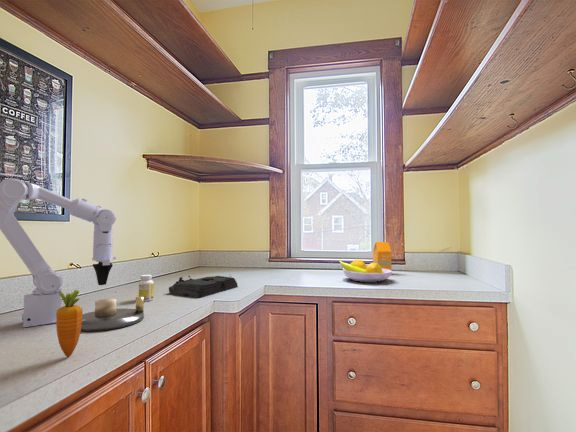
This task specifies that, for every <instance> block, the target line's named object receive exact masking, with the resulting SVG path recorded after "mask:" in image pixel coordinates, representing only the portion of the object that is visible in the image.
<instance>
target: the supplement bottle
mask: <svg viewBox="0 0 576 432" xmlns="http://www.w3.org/2000/svg"><path fill="white" fill-rule="evenodd" d="M152 276H153V275H152V274H141V275H140V281H139V282H138V297H140V296H143V297H144V302H149V301H152V300H154V295H155V294H154V286H155V285H154V280H152V278H153V277H152Z"/></svg>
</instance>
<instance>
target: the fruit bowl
mask: <svg viewBox="0 0 576 432" xmlns="http://www.w3.org/2000/svg"><path fill="white" fill-rule="evenodd" d="M338 262H339V263H340V265H341V267H343V268H342V271H343V274H344V275H345V277H346V278H349V279H350V280H353V281H354V282H356V281H360V282H359V283H368V282H374V283H378V282H382V281H385V280H387V279H388V278H390V277H391V276H392V273H393V270H392V269H391V270H389V269H383V268H382V267H381V266H380V265H379V264H377V263H373V261H372V262H370V263H369V264H367V265H366V263H365V262H364V261H363V259H354V260H353V261H351V262H350V264H349V263H346V262H343V261H342V260H340V259H339V260H338ZM377 281H378V282H377Z"/></svg>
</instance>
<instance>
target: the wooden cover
mask: <svg viewBox="0 0 576 432" xmlns="http://www.w3.org/2000/svg"><path fill="white" fill-rule="evenodd" d="M116 309H117V299H116V298H104V299H98V300H96V301H95V302H94V311H95V316H109V315H113V314H115V313H116Z"/></svg>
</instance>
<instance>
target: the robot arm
mask: <svg viewBox="0 0 576 432" xmlns="http://www.w3.org/2000/svg"><path fill="white" fill-rule="evenodd" d="M24 198H25V201H27V200H29V201H30V200H40V201H43V202H46V203H49V204H51V205H55V206H57V207H59V208H63V209H66V210H67V212H68V213H69V214H68V215H70V216H73V217H75V218H78V219H81V220H83V221H86V222H89V223H91V222H92V224H93V227H94V228H93V245H92V247H93V248H92V258H91V259H92V261H94V262H97V263H93V264H92V267H93V269H94V271H95V276H96V280H97V281H96V282H97V285H98V286H106V285H107V282H108V277H109V274H110V272H111V269H112V268H113V266H114V265H113V263H112V262H111V261H113V260H117V257H116V256H113V240H114V236H113V235H114V229H113V227H114V224H115V222H116V219H117V218H116V216H115V214H114V213H113V211H112V210H110V209H105V208H104V209H103V206H102V205H96V204H93V203H90V202H88V199H85V198H82V199H80V198H75V199H70V198H69V197H66V196H63V195H60V194H58V193H56V192H54V191H52V190H50V189H47V188H45V187H43V186H40V185H37V184H34V183H31V182H28V181H23V180H21V179H19V178H15V177H14V178H13V177H12V178H11V177H9V178H6V179H4V180H2V181H1V182H0V231H1V233H2V234H3V236H4V237H5V238H6V240H7V241H8V242H9V244H10V245H11V246H12V248H13V249H14V251H15V252H16V254H17V255H18V257H19V258H20V259H21V261H22V262H23V263H24V265H25V266H26V268H27V269H28V271H29V272H30V274H31V275H32V282H33V285H34V286H35V288H34V289H33V291H32V293H29V294H24V295H23V313H22V314H21V321H22V322H23V323H22V328H30V327H35V326H36V327H37V326H43V325H48V324H49V325H50V324H56V313H57V310H58V309H59V308H61V307H62V297H61V296H60V294H59V293H61V292H62V288H61V287H62V286H63V283H64V282H63V280H64V279H63V277H62V276H61V274H60V273H59V272H56V271H55V270H53V269H52V267H51V266H50V265H49V264H48V262H47V261H46V260H45V258H44V257H43V255H42V254H41V253H40V251H39V250H38V249H37V247H36V246H35V244H34V242H33V241H32V240H31V238H30V237H29V235H28V233H27V232H26V231H25V229H24V228H23V226H22V225H21V224H20V222H19V221H18V219H17V218H16V216H15V215H14V214H15V212H16V210H17V207H18V204H19V203H20V202H21V201H22V200H23V199H24ZM62 293H63V292H62Z"/></svg>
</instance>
